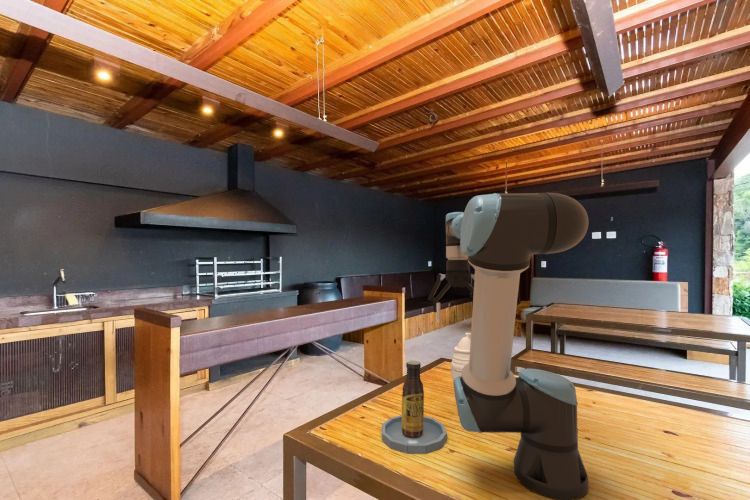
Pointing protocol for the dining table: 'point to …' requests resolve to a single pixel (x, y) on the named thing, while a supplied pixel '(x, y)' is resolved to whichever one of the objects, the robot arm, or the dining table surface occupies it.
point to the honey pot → (461, 356)
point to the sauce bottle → (413, 401)
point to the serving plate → (425, 443)
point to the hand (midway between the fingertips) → (459, 323)
